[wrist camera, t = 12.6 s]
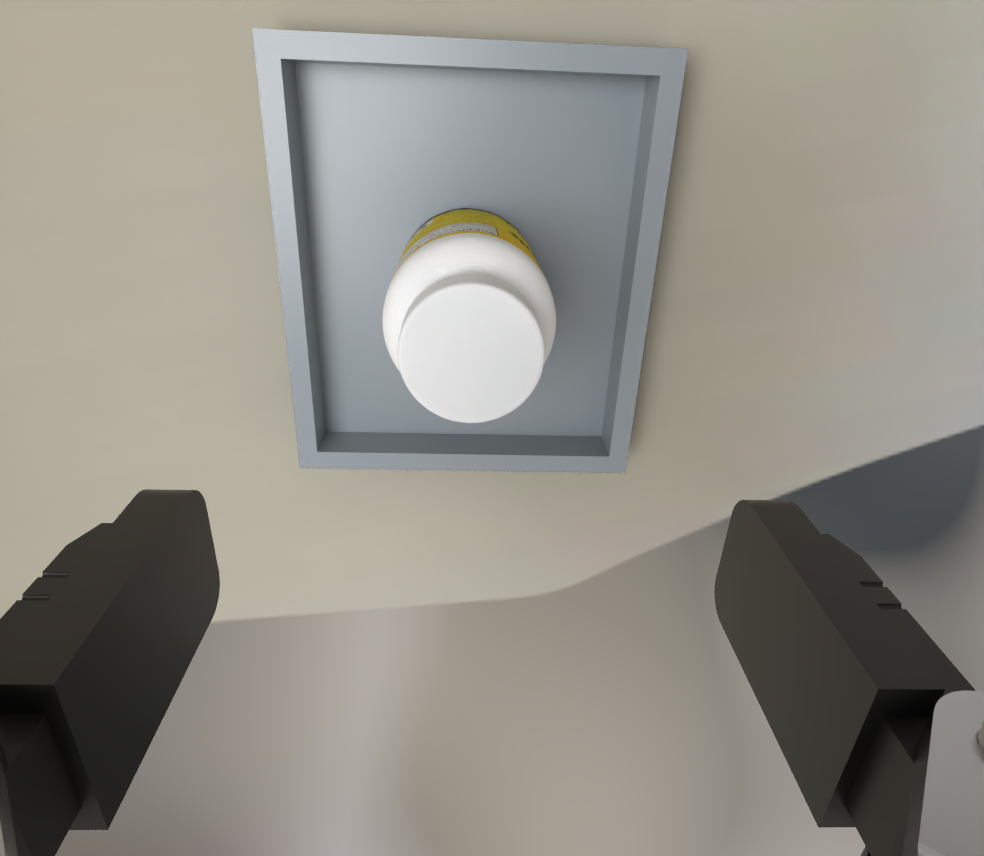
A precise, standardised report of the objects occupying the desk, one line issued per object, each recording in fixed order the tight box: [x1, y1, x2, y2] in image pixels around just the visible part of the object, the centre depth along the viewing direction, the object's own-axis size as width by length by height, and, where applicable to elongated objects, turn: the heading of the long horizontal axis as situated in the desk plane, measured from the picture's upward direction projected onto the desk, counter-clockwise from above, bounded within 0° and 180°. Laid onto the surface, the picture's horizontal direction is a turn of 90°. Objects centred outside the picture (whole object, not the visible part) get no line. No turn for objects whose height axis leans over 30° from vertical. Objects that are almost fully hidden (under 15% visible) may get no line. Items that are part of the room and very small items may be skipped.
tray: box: [252, 28, 688, 473], centre depth 26 cm, size 16×14×2 cm
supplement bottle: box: [382, 207, 556, 423], centre depth 22 cm, size 5×5×10 cm
